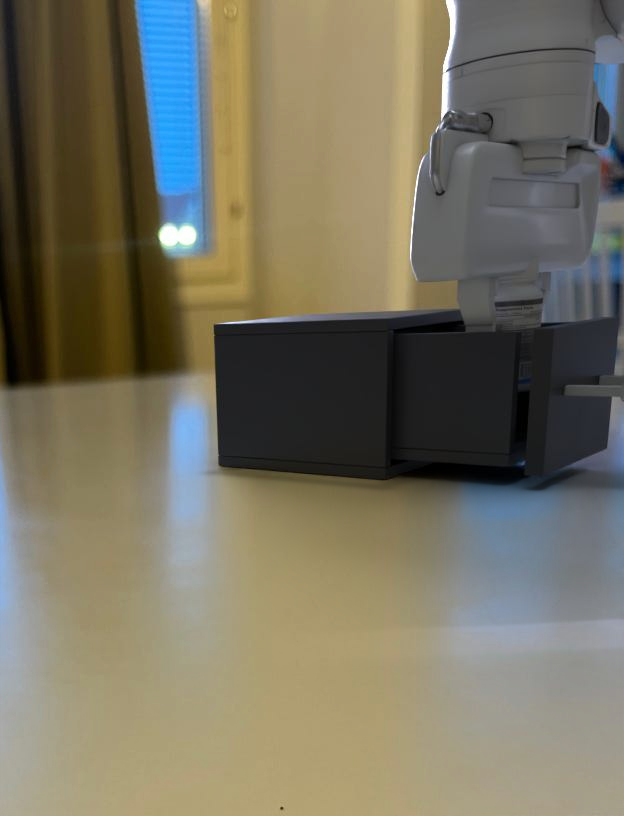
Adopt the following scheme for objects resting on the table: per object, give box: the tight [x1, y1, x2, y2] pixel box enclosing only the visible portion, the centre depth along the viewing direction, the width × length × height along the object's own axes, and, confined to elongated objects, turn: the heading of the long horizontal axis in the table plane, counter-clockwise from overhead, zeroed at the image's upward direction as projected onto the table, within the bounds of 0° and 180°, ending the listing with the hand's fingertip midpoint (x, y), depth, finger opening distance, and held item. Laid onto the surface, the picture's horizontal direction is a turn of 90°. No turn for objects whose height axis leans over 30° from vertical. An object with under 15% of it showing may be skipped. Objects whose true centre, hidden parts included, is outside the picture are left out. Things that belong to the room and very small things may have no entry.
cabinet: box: [213, 307, 465, 481], centre depth 75 cm, size 15×13×11 cm
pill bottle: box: [494, 257, 543, 392], centre depth 66 cm, size 5×5×8 cm
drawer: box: [391, 316, 624, 477], centre depth 66 cm, size 18×11×9 cm, turn 48°
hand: (502, 348), depth 66 cm, fingers closed on pill bottle, 5 cm apart
